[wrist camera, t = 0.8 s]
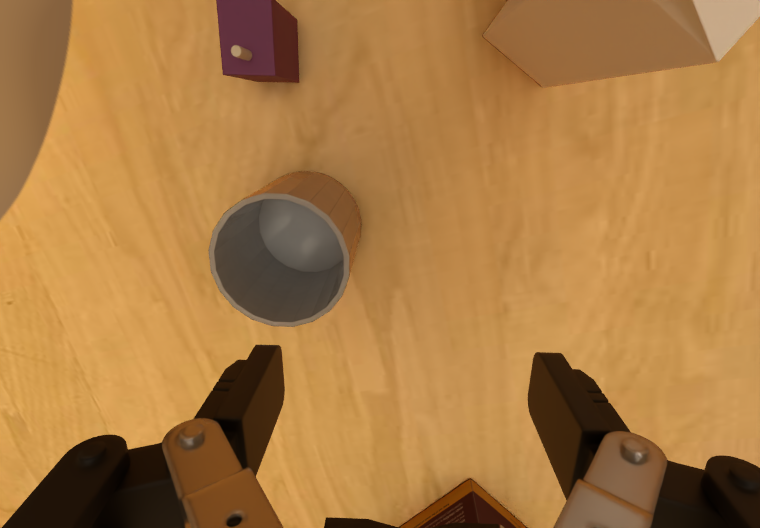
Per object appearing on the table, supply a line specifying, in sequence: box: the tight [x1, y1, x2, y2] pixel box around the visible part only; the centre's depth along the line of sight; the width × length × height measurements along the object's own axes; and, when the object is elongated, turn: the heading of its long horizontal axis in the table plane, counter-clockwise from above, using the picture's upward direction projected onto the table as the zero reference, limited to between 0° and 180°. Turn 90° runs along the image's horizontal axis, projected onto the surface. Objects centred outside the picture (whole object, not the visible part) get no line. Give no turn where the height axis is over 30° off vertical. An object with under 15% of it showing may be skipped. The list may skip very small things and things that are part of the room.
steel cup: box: [209, 171, 361, 327], centre depth 32 cm, size 9×9×10 cm
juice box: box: [216, 0, 299, 83], centre depth 28 cm, size 4×3×9 cm
